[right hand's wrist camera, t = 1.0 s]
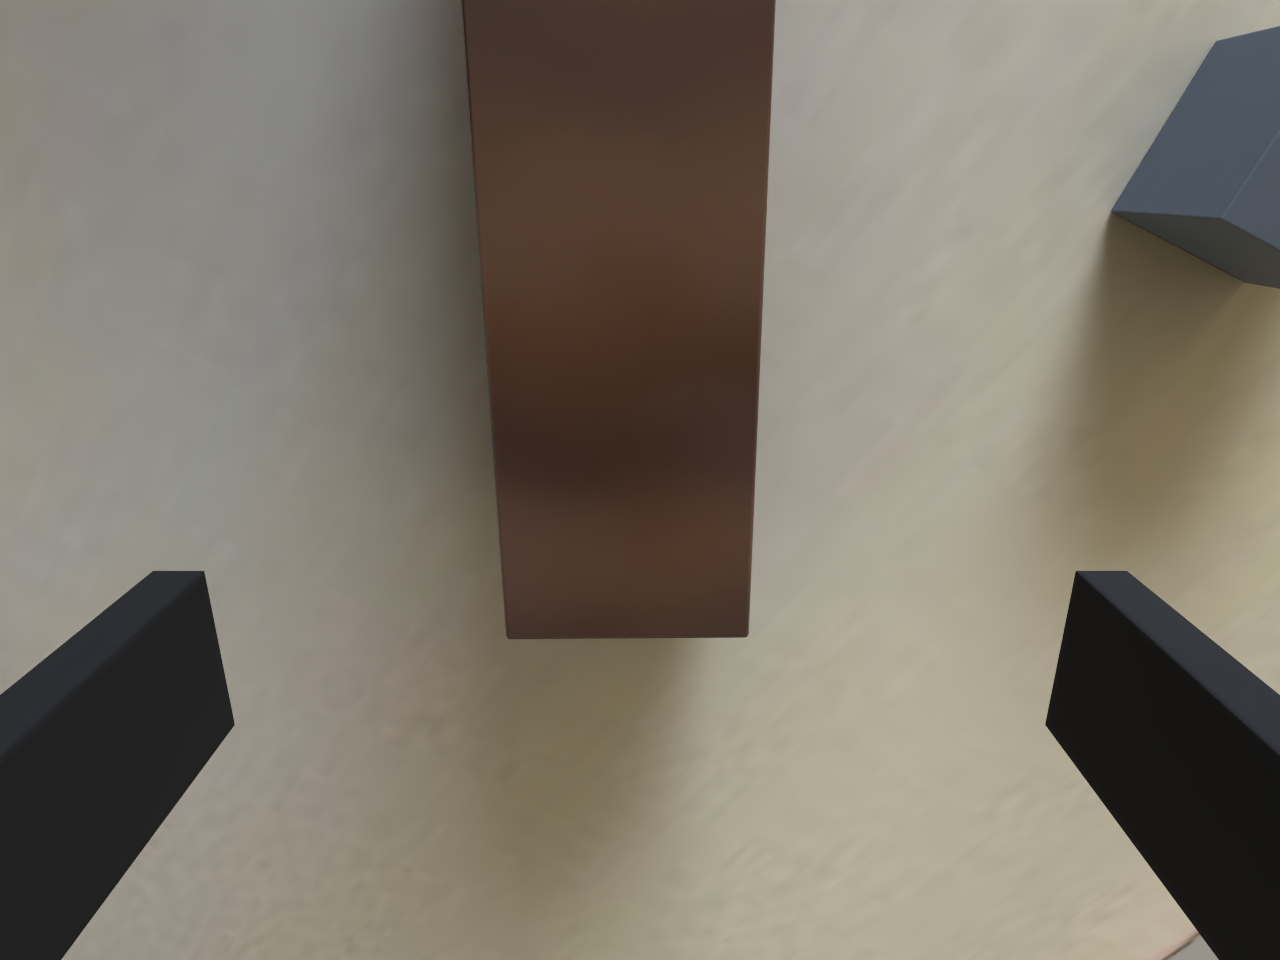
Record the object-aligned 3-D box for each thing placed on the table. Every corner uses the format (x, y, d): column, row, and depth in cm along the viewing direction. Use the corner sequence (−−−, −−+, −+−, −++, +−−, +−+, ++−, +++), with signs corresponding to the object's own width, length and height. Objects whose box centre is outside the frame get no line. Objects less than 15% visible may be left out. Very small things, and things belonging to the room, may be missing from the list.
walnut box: (719, 515, 28) (748, 638, 21) (541, 516, 28) (505, 640, 21) (748, -529, 19) (818, -984, 12) (487, -527, 19) (390, -980, 12)
